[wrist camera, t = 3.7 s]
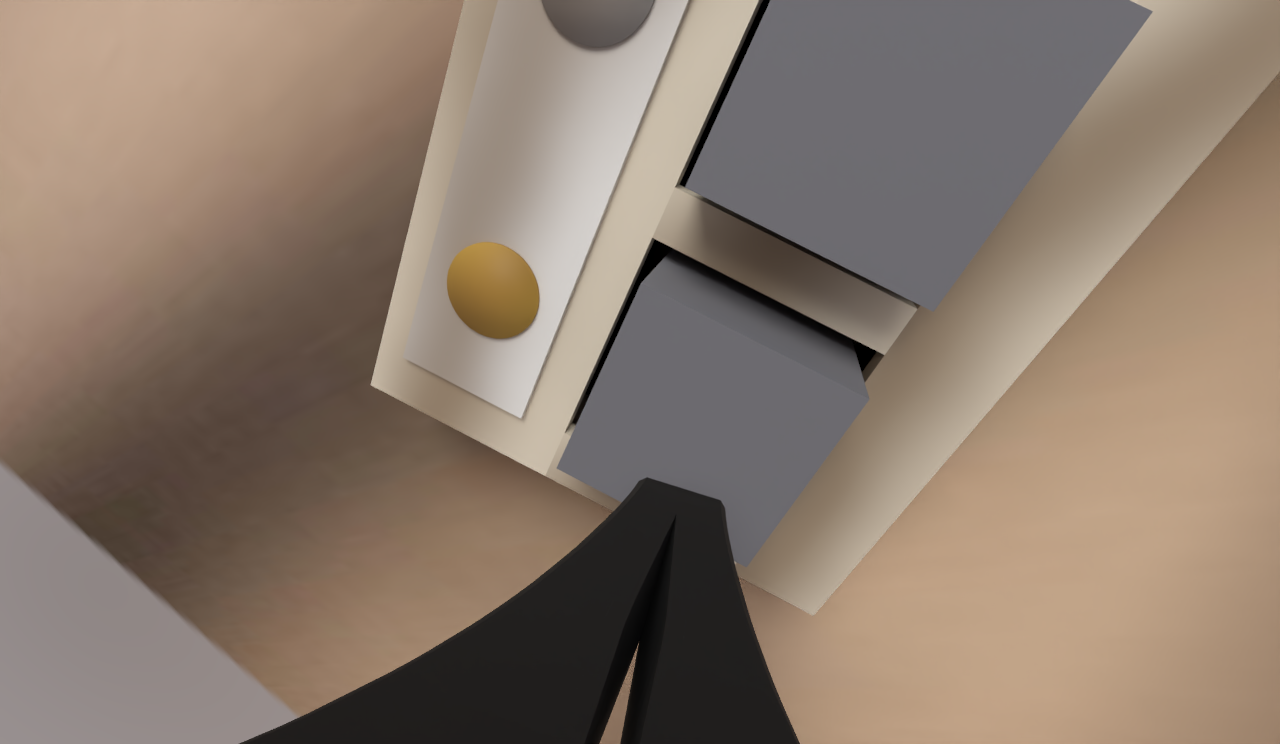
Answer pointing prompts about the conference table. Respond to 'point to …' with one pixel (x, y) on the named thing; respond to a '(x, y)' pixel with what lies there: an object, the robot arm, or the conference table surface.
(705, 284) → the button
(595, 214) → the button box
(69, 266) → the conference table surface
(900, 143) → the button
